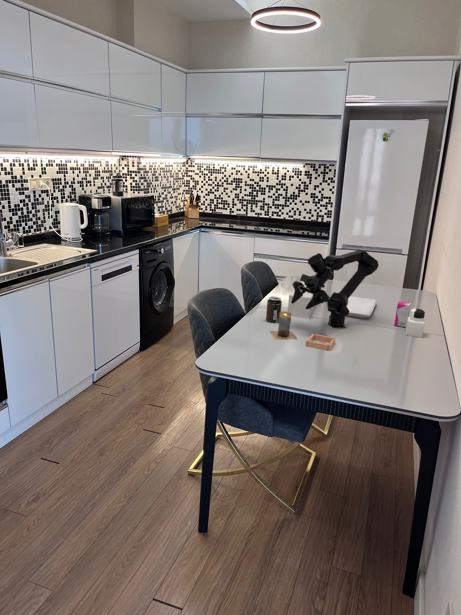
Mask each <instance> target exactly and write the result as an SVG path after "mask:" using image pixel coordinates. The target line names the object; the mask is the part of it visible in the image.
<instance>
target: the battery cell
mask: <svg viewBox="0 0 461 615" xmlns="http://www.w3.org/2000/svg"><path fill="white" fill-rule="evenodd" d="M291 321H292V316H291V313H290V312H288V311H281V312H280V316H279V322H278V328H277V329H278V330H277V331H278V336H280V337H289V333H290V331H291V323H292V322H291Z"/></svg>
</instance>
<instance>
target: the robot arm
mask: <svg viewBox="0 0 461 615" xmlns="http://www.w3.org/2000/svg"><path fill="white" fill-rule="evenodd" d="M355 262H357V270H356V271H355V273H354V274H353V275H352V276H351V278H350V279H349V280H348V281H347V283H346V284H345V285H344V286H343V288H341V290H340V291H339V292H335V291H333V293H332V294H331V296H329V295H328V293H327V292H326V290H324V288H326V286H325V284H326V283H327V281H328V280H329V279H330V278H331V279H334V278H335V274H334V271H336V272H337V271H339V270H341V269H343V268H344V266H345V265H349V264H351V263H355ZM307 264H308V265H309V268H311V270H312V271H313V272H314V273H315V274H314V275H307V274H304V273H302V274H301V276H300V279H299V281H298V280H295V281H293V283H292V284H291V285H292V288H293V290H295V291H294V295H293V298H292V301H291V303H292V304H293V303H295V302H296V301H297V300H298V299H299V298H301V297H302V296H303V294H304V293H305V292H308V293H311V294H313V298H312V299H311V300H310V302H309V303H308V305H307V306H306V310H308V309H310V308H312V307H314V306H315V307H316V306H318V305H322V304H324V303H325V304H327V311H328V312H330V314H329V316H328V322H327V324H328V325H329V326H330V327H332V329H333V328H338V329H339V328H342V329H343V328H346V326H345V321H346V316H347V315H348V314H349V309H348V308H347V307H346V306H347V305H348V298H349V297H350V296H352V295H353V293H355V291H356V289H357V288H358V287H359V286H360V285H361V284H362V282H363V281H364V280H365V279H366V277H368V276H370V275H372V274H374V273H375V272H376V271H377V270H378V268H379V261H378V260H377V259H375V257H373V256H372V255H370V254H369V253H368V252H367V250H364V249H363V250H362V249H356V250H355V251H352V252H351V251H350V252H347V253H344V254H341V255H333V254H332V255H331V254H330V255H327V256H326V257H323V254H322V253H319V252H318V253H316V254H314V255H312V256H310V257H309V258H308V259H307ZM331 270H333V271H331ZM301 281H303V282H305V283H304V284H305V285H306V287H305V286H304V285H303V284H302V283H301ZM347 317H348V316H347Z"/></svg>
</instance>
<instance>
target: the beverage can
mask: <svg viewBox="0 0 461 615" xmlns="http://www.w3.org/2000/svg"><path fill="white" fill-rule="evenodd" d="M281 299H282V298H281V297H279V296H273V295H272V296H268V299H267V301H266V312H265V322H267V323H271V324H279V316H280V312H282V305H283V302H282V300H281Z"/></svg>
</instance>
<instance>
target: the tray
mask: <svg viewBox="0 0 461 615" xmlns="http://www.w3.org/2000/svg"><path fill="white" fill-rule="evenodd" d="M376 304H377V299H372V298H365V297H359V296H358V297H357V296H352V295H351V296H350V297H349V298H348V305H347V306H346V307H347V308H348V309H349V314H348V315H347V317H352V318H360V319H366V318H368V317H370V316H371V315H372V313H373V311H374V309H375V306H376Z"/></svg>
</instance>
